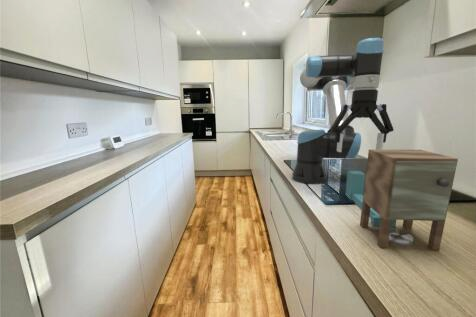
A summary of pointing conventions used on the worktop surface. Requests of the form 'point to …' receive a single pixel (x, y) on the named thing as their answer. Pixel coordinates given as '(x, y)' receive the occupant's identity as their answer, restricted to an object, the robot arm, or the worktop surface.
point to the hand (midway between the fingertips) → (358, 151)
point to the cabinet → (408, 190)
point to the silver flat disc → (400, 237)
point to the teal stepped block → (361, 194)
